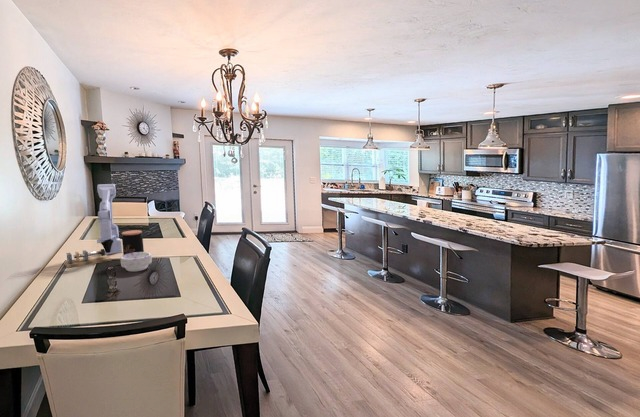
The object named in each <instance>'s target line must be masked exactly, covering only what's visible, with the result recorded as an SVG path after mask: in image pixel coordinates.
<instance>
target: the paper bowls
mask: <svg viewBox="0 0 640 417" xmlns="http://www.w3.org/2000/svg"><path fill="white" fill-rule="evenodd" d="M119 259H120V266H121V267H122V268H125V270H126V271H128V272H133V273H134V272H141V271H144V270H146V269H147V268H148V266H149V265H150V264H152V263H153V262H152V261H153V260H152V259H153V258H152V253H150V252H147V251H144V252H135V253H129V254H125V255H123V254H122V255H121V256H120V257H119Z"/></svg>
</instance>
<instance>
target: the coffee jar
mask: <svg viewBox="0 0 640 417" xmlns="http://www.w3.org/2000/svg"><path fill="white" fill-rule="evenodd" d="M142 233H143V230H140V229H135V230H133V229H132V230H127V231H123V232H121V235H122V236H121V245H122V256H123V255H125V254H129V253H135V252H145V250H144V239H143V237H144V235H143V234H142Z"/></svg>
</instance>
